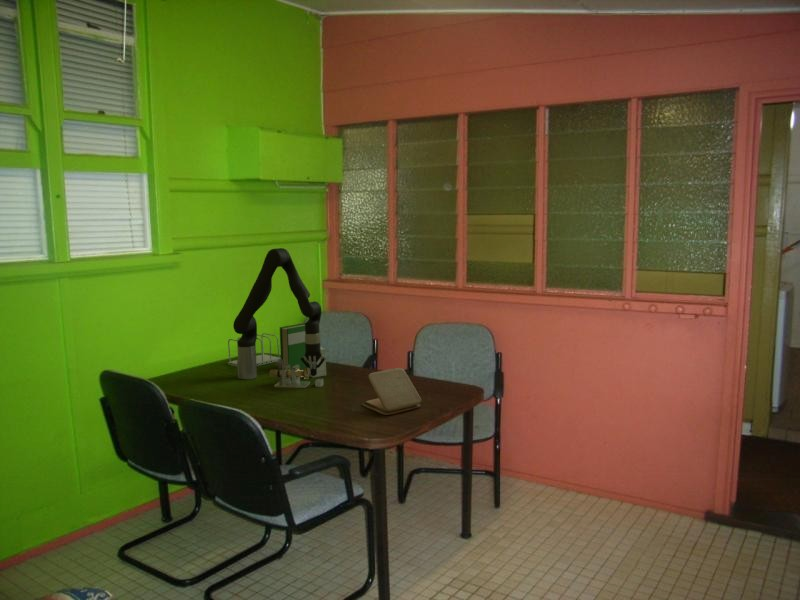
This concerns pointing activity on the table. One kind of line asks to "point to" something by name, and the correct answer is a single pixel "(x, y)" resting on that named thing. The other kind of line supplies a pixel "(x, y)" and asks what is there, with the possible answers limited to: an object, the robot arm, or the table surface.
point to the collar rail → (293, 377)
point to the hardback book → (293, 345)
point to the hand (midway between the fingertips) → (313, 375)
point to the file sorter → (259, 358)
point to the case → (392, 392)
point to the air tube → (299, 373)
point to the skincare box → (322, 369)
